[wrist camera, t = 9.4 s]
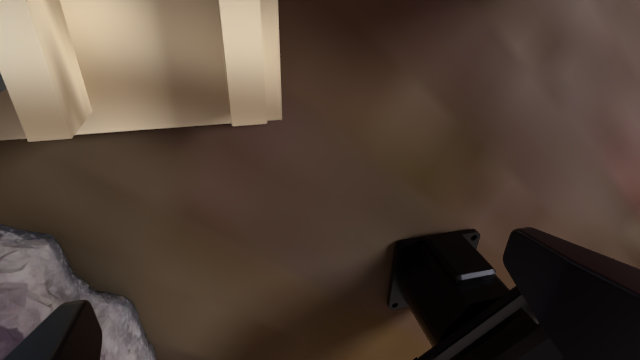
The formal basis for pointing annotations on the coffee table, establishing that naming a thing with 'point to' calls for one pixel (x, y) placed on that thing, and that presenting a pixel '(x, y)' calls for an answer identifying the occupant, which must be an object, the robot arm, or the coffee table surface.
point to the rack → (136, 65)
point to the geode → (58, 297)
